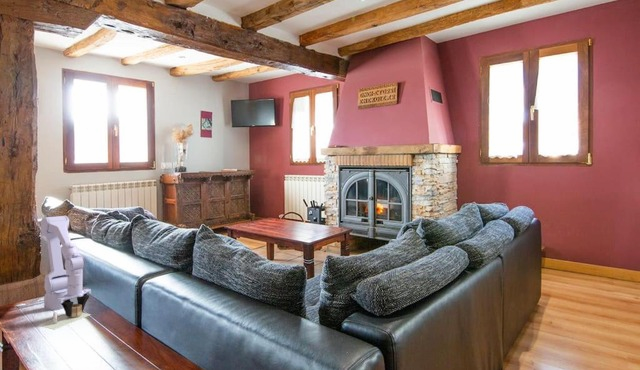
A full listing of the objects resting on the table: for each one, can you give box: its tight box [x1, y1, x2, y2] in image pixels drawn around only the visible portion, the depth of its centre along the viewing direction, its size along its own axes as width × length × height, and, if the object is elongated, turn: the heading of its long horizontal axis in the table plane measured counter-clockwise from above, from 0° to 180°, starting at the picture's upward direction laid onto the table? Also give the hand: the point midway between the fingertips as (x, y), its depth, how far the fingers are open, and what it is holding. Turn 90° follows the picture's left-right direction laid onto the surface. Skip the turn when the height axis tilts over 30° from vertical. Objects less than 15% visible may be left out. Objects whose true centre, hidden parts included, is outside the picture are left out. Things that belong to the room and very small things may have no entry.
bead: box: [70, 303, 83, 317], centre depth 172 cm, size 5×5×4 cm
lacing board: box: [37, 311, 92, 331], centre depth 167 cm, size 10×17×6 cm, turn 161°
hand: (74, 313), depth 172 cm, fingers closed on bead, 5 cm apart
